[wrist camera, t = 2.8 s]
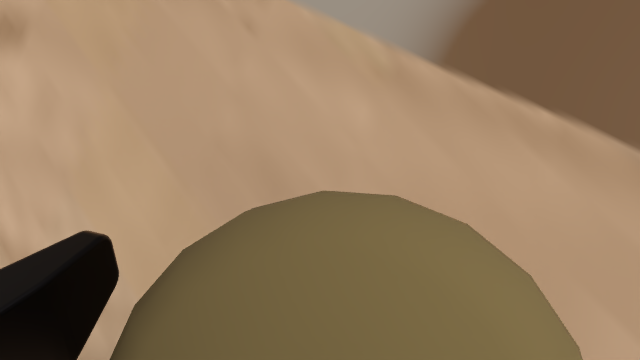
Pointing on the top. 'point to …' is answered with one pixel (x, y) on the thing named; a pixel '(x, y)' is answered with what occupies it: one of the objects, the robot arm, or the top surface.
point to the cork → (344, 290)
